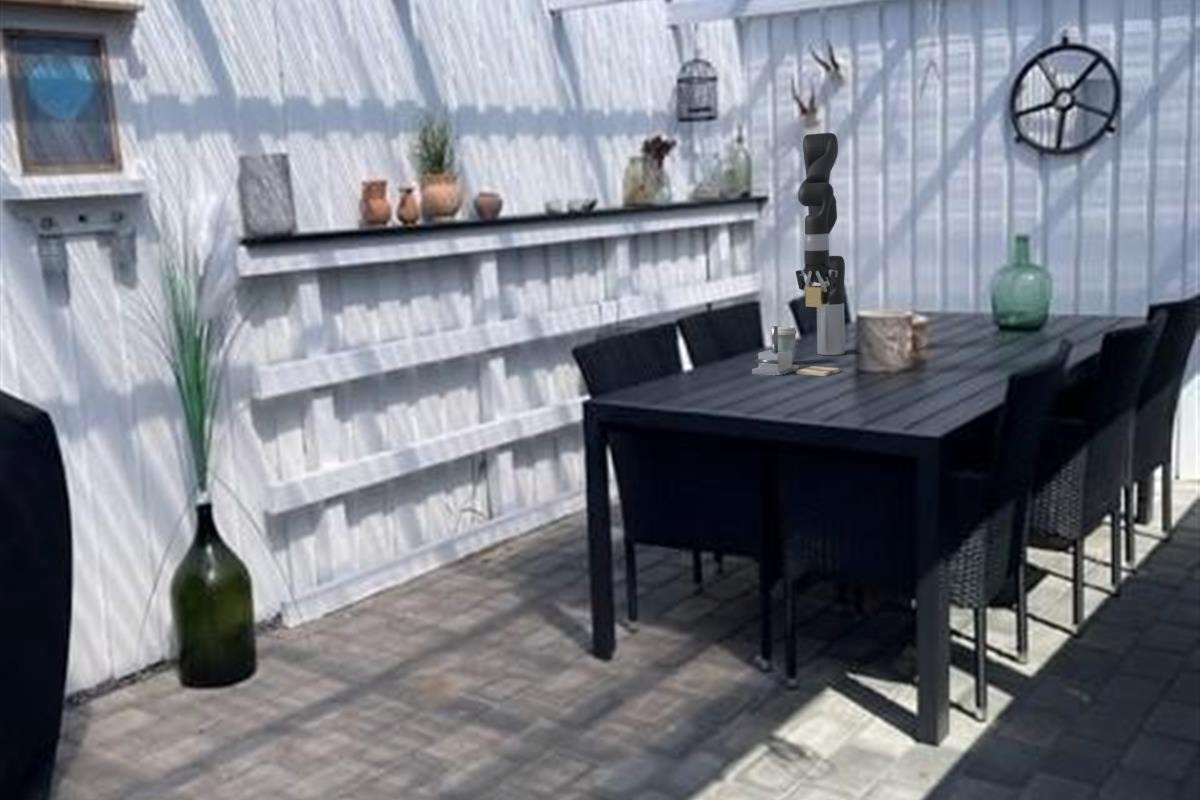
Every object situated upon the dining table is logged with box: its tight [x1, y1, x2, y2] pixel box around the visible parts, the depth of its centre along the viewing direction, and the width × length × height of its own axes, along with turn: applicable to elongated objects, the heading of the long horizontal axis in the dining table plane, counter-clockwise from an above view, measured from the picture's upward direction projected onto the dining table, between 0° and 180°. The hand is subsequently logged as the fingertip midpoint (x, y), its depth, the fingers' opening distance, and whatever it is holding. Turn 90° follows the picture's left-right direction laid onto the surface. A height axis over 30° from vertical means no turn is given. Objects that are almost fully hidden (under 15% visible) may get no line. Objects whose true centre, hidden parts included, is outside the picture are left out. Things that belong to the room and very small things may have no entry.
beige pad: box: [795, 365, 841, 377], centre depth 401 cm, size 10×10×1 cm
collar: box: [805, 285, 829, 308], centre depth 397 cm, size 5×5×6 cm
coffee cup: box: [770, 325, 797, 364], centre depth 421 cm, size 9×9×12 cm
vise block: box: [751, 325, 800, 376], centre depth 405 cm, size 12×10×14 cm
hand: (817, 303), depth 397 cm, fingers closed on collar, 5 cm apart
